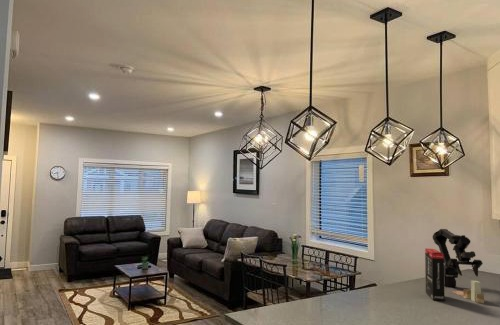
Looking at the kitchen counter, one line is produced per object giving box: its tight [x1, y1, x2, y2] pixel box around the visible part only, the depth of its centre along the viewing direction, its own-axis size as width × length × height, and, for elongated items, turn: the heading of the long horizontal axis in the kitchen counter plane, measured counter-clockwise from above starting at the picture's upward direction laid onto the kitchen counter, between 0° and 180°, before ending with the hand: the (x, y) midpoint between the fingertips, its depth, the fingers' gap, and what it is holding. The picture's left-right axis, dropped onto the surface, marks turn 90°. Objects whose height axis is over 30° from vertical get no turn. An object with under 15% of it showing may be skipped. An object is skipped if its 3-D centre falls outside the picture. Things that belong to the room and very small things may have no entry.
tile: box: [451, 290, 464, 296], centre depth 228 cm, size 9×9×1 cm
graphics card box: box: [424, 248, 446, 302], centre depth 218 cm, size 17×7×27 cm, turn 168°
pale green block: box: [470, 280, 482, 303], centre depth 213 cm, size 4×4×11 cm
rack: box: [461, 288, 485, 304], centre depth 215 cm, size 13×8×5 cm, turn 176°
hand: (469, 275), depth 221 cm, fingers open, 9 cm apart
